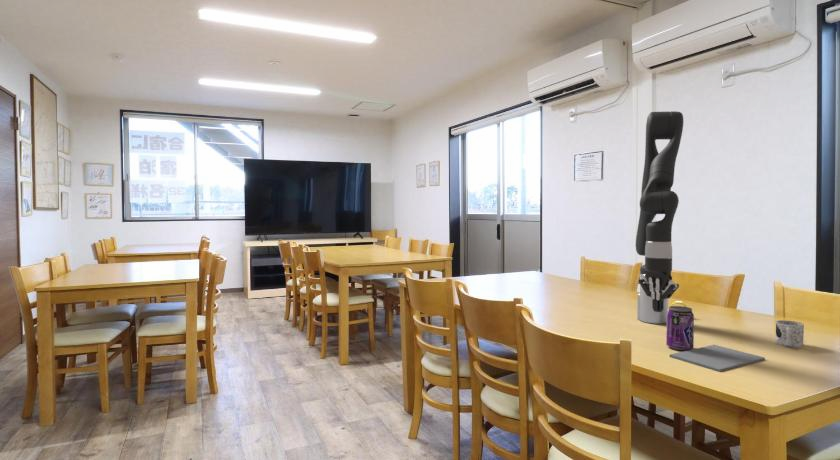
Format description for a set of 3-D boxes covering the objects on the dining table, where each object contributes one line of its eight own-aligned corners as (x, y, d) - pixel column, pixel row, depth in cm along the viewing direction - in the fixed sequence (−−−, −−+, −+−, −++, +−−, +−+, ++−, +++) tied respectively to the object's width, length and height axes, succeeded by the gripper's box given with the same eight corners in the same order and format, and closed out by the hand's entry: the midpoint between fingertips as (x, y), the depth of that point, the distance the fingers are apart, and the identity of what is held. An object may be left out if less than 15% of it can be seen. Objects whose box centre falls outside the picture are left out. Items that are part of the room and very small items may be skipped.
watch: (687, 317, 182) (689, 302, 181) (686, 319, 180) (688, 303, 179) (670, 314, 185) (671, 299, 185) (668, 316, 183) (670, 300, 183)
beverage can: (679, 352, 139) (679, 311, 138) (660, 345, 146) (661, 306, 145) (699, 350, 141) (699, 309, 140) (680, 343, 148) (680, 305, 147)
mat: (669, 356, 135) (669, 354, 135) (714, 346, 144) (714, 344, 144) (719, 371, 123) (719, 369, 123) (764, 359, 132) (764, 357, 132)
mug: (776, 340, 150) (776, 319, 150) (803, 344, 146) (804, 322, 145) (774, 347, 142) (774, 325, 142) (802, 352, 138) (803, 329, 138)
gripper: (632, 254, 153) (631, 308, 154) (669, 258, 141) (669, 317, 142) (648, 253, 156) (647, 306, 157) (686, 257, 144) (685, 314, 145)
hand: (657, 311), depth 149 cm, fingers closed
